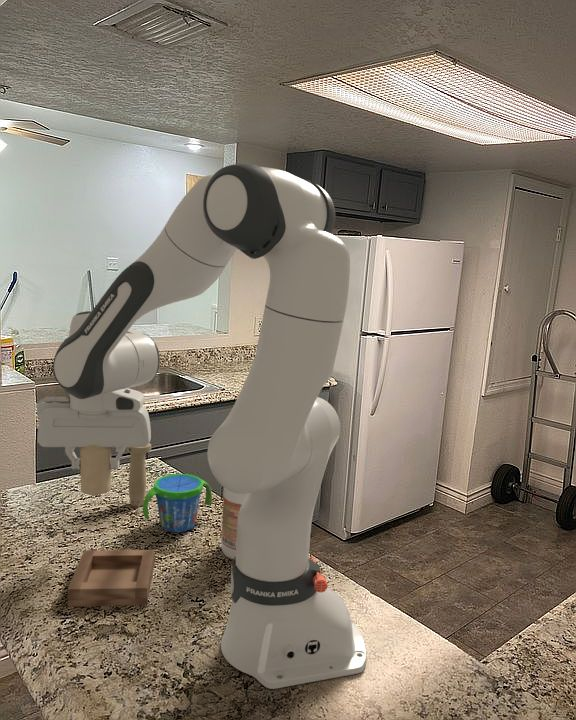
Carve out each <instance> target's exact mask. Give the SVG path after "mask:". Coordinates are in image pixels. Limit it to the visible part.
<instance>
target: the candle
mask: <svg viewBox="0 0 576 720" xmlns="http://www.w3.org/2000/svg"><path fill="white" fill-rule="evenodd" d="M79 456H80V457H79V458H80V468H81V469H80V489H81V493H82V494H84V495H88V496H99V495H103V494H106V493H109V492H110V491H111V490H112V469H110V460H111V458H112V447H100V446H97V445H89V446H87V447H79Z"/></svg>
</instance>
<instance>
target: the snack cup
mask: <svg viewBox="0 0 576 720" xmlns="http://www.w3.org/2000/svg"><path fill="white" fill-rule="evenodd" d="M204 486H205V498H204V504H205V505H206V506H211V505H212V501H213V493H212V488H211V486H210V484H209V483H208V482H206V481H205V480H203V479H202V478H200V477H199V476H196V475H193V474H187V473H173V474H166V475H163V476H160V477H158V478H156V480H155V481H154V483H153V487H152V488H151V489H150V490H148V492H147V494H145V498H144V503H143V505H142V514H143V517H144V518H145V519H146V520H147V521H149V520H150V516H149V508H148V507H149V506H148V505H149V503H150V501H151V500H152V499H153V497H154V496H155V498H156V503H157V510H158V518H159V524H160V526H161V529H162V530H164V531H167V532H170V533H176V534H178V533H184V532H187V531H189V530H193V529H194V527H195V525H196V520H197V517H198V511H199V510H198V509H199V504H200V498H201V493H202V491H203V489H204Z"/></svg>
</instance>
